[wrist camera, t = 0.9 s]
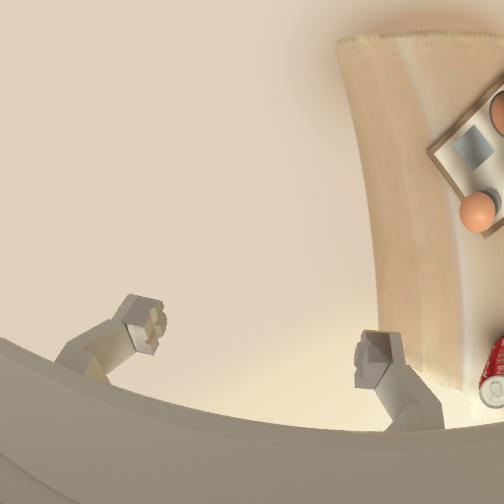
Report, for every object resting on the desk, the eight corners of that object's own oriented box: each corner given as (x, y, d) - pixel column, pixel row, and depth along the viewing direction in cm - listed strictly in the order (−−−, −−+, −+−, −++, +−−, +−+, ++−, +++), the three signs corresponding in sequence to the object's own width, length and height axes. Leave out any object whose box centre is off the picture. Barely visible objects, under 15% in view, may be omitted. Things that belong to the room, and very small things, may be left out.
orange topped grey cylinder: (491, 181, 34) (478, 186, 27) (507, 205, 33) (499, 219, 25) (472, 197, 37) (452, 207, 30) (487, 221, 36) (472, 239, 29)
